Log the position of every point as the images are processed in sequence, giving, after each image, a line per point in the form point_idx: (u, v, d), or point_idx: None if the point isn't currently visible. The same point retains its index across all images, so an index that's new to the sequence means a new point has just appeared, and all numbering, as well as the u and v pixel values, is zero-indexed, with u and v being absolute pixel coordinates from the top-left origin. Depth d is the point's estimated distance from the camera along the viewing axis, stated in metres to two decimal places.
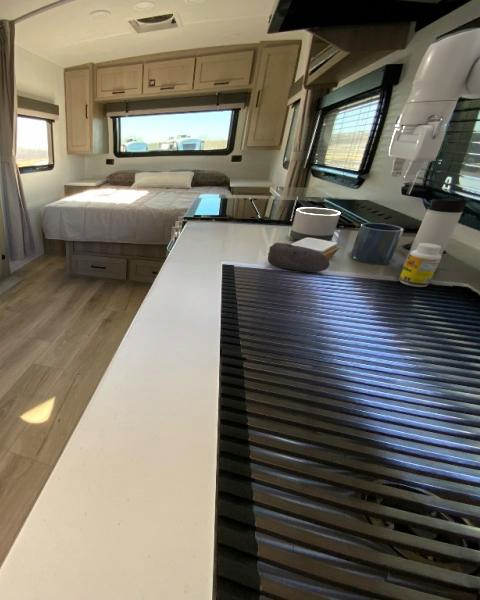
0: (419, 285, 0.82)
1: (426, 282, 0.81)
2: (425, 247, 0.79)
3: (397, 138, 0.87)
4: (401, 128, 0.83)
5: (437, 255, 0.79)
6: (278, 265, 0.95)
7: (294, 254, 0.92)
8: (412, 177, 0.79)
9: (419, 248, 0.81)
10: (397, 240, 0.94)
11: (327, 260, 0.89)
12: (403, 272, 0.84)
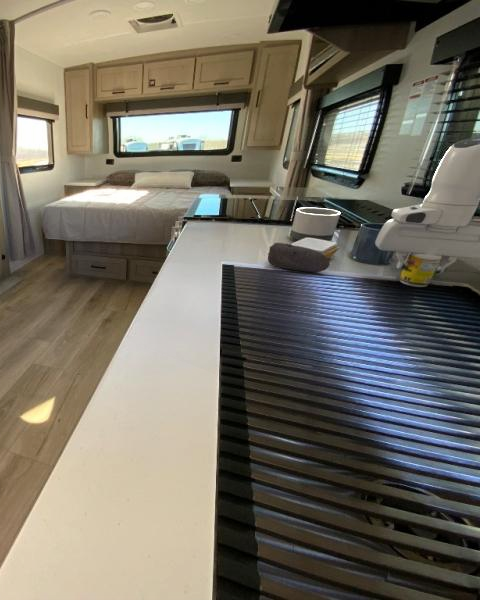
0: (419, 285, 0.82)
1: (426, 282, 0.81)
2: None
3: (398, 233, 0.80)
4: (424, 226, 0.77)
5: (437, 255, 0.79)
6: (278, 265, 0.95)
7: (295, 254, 0.92)
8: None
9: None
10: None
11: (327, 260, 0.89)
12: (403, 272, 0.84)
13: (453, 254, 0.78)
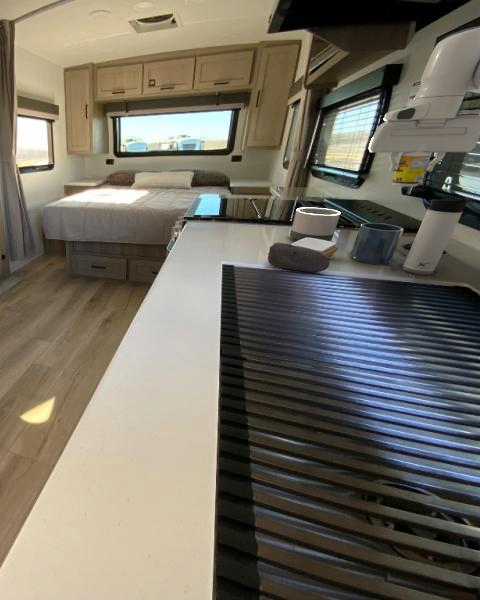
0: (410, 184, 0.87)
1: (417, 180, 0.86)
2: None
3: (390, 133, 0.85)
4: (414, 122, 0.82)
5: (427, 152, 0.84)
6: (278, 265, 0.95)
7: (295, 254, 0.92)
8: None
9: None
10: (397, 240, 0.94)
11: (327, 260, 0.89)
12: (395, 174, 0.89)
13: (441, 149, 0.82)
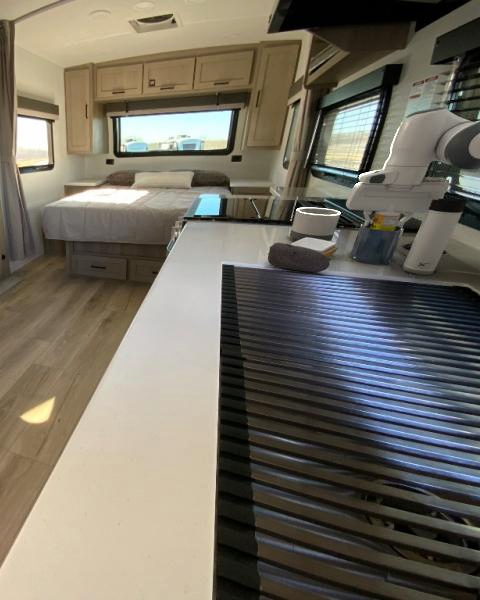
0: None
1: None
2: None
3: (364, 194, 0.94)
4: (385, 186, 0.91)
5: (397, 212, 0.93)
6: (278, 265, 0.95)
7: (294, 254, 0.92)
8: None
9: None
10: (397, 240, 0.94)
11: (327, 260, 0.89)
12: None
13: (410, 210, 0.91)
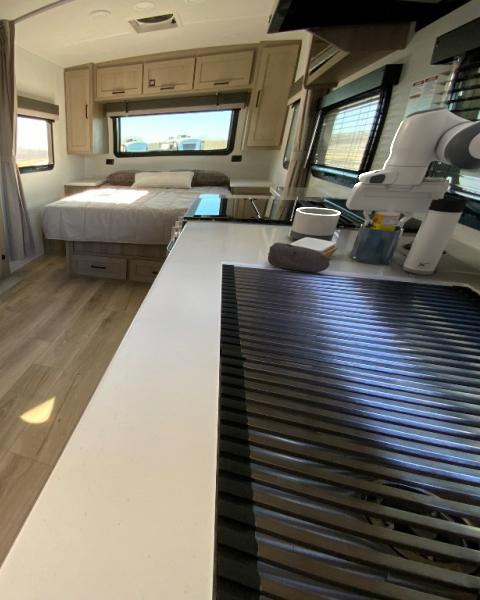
0: None
1: None
2: None
3: (363, 194, 0.94)
4: (385, 186, 0.91)
5: (397, 212, 0.93)
6: (278, 265, 0.95)
7: (295, 254, 0.92)
8: None
9: None
10: (397, 240, 0.94)
11: (327, 260, 0.89)
12: None
13: (410, 210, 0.91)
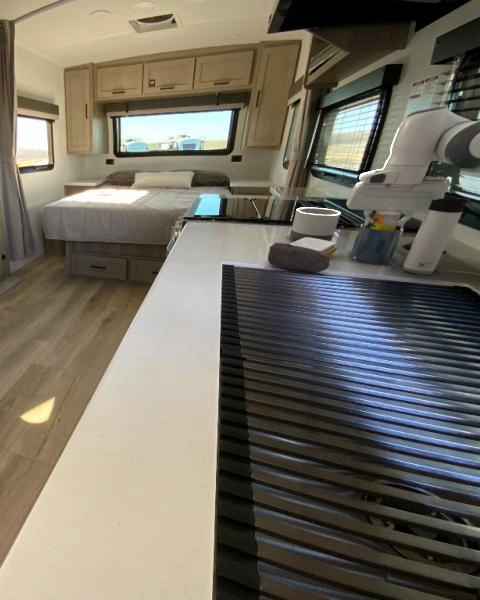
0: None
1: None
2: None
3: (364, 194, 0.94)
4: (385, 186, 0.91)
5: None
6: (278, 265, 0.95)
7: (295, 254, 0.92)
8: None
9: None
10: (397, 240, 0.94)
11: (327, 260, 0.89)
12: None
13: (410, 210, 0.91)
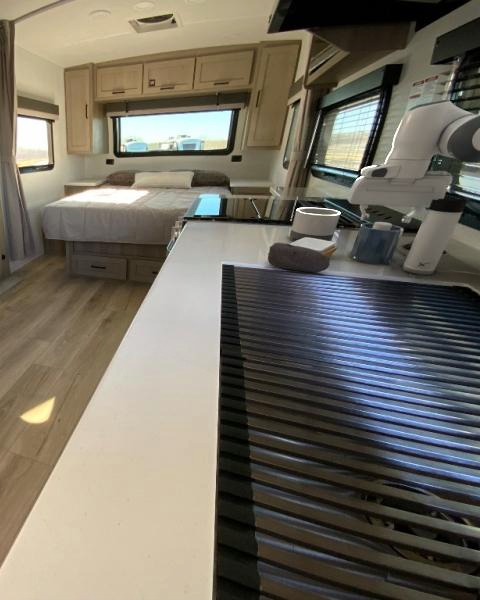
0: None
1: None
2: (379, 225, 0.95)
3: (365, 188, 0.93)
4: (387, 180, 0.90)
5: None
6: (278, 265, 0.95)
7: (295, 254, 0.92)
8: None
9: (374, 226, 0.97)
10: (397, 240, 0.94)
11: (327, 260, 0.89)
12: None
13: (412, 204, 0.90)
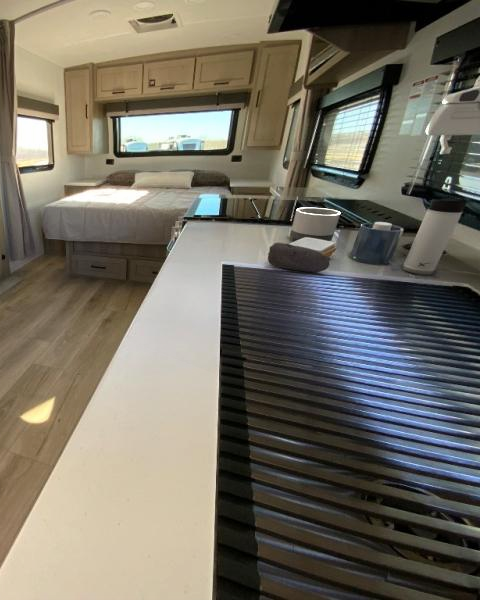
0: None
1: None
2: (379, 225, 0.95)
3: (450, 116, 0.85)
4: (477, 104, 0.82)
5: None
6: (278, 265, 0.95)
7: (294, 254, 0.92)
8: None
9: (374, 226, 0.97)
10: (397, 240, 0.94)
11: (327, 260, 0.89)
12: None
13: None
